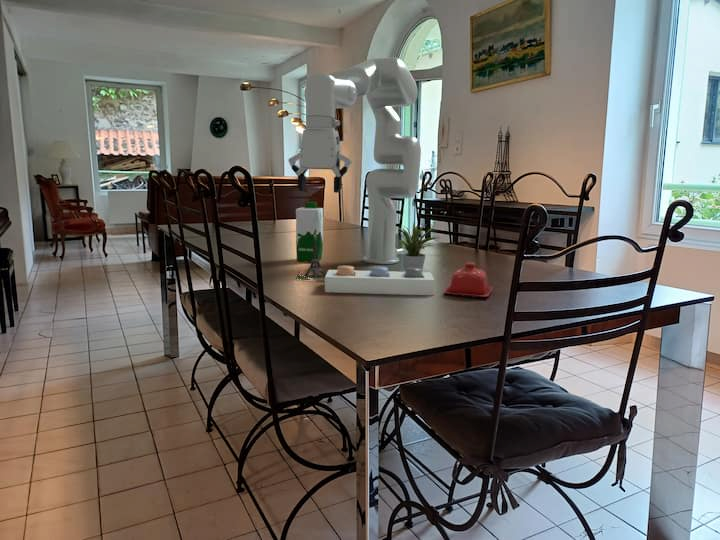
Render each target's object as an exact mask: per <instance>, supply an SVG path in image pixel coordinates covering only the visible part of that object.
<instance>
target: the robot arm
mask: <svg viewBox="0 0 720 540" xmlns="http://www.w3.org/2000/svg"><path fill="white" fill-rule="evenodd" d="M416 82H417V81H415V79H414V77H413V75H412V74H411V71H410V70H409V68H408V67H407V65H406V64H405V62H403V60H402V59H400V58H398V57H394V56H393V57H382V58H381V57H380V58H369V59H367V60H364V61H362V62H360V63H358V64H356V65H353V66H351V67H348V68H344V69H340V70H337V71H334V72H331V73H330V72H329V73H311V74H308V76H307V77H306V81H305V87H304V91H303V93H304V94H303V96H304V101H305V129H303V131H302V135H301V140H300V142H301V143H300V150H299V152H298V153H297V154H295V155H293V156H291V157H290V158H288V159H287V160H288V163H289V165H290V167H291V170H292V171H293V172H294V174H295V175H296V176H297V188H298V190H299V191H298V192H306V191H307V177H306V173H307V172H308V171H309V170H310V169H311V170H330V171H332V172H333V174H334V175H335V176H334V177H333V193H335V194H336V193H337V194H339V193H341V190H342V188H343V187H342V183H343V182H342V181H343V180H342V179H343V177H344V176H345V174H346V173H347V172H348V171H349V168H351V165H352V163H353V160H352V159H351V158H349V157H347V156H345V155H343V154H342V153H341V144H340V143H341V142H340V136H339V131H338V130H336V127H339V126H340V125H341V121H340V120H339V119H336V109H348V108H351V107H352V106H353V105H354V104H355V103H356V101H357V98H361V97H364V96H365V97H366V100H367V102H368V104H369V106H370V109H371V111H372V113H373V116H374V119H375V132H374V133H375V134H374V143H373V160H374V161H375V163H376V164H379V165H381V166H382V165H385V166H403V169H402V168H401V169H399V168H377V169H373V170H371V171H369V172H368V174H367V176H366V180H365V181H366V182H365V185H366V191H367V199H368V203H367V204H368V215H367V216H368V219H367V221H368V223H367V225H368V226H367V255H365V256H363V257H362V261H363V262H364V263H368V264H372V265H373V264H375V265H391V264H397V263H399V262H400V258H399V257H398V256H397V255H402V254H404V252H405V251H404V248H397V247H396V234H397V233H396V231H397V230H396V229H394V228H396V227H397V226H396V225H397V209H396V207H395V204H394V203H393V201H392V199H411V198H414V197H415V196H416V194H417V192H418V188H419V178H420V169H421V168H420V167H421V157H422V156H421V155H422V148H421V144H420V141H419V139H418V138H417V137H415V136H413V135H412V136H411V135H410V136H409V135H401V130H402V121H401V118H400V116H399V115H398V113H397V112H396V111H395V110H394V108H393V107H410V106H413V105H414V104H415V102H416V101H417V99H418V96H419V95H418V92H419V91H418V86H417V83H416ZM298 161H299V165H300V166H298V165H297V162H298ZM341 162H344V165H343V166H342V167H341V164H342V163H341ZM340 167H341V168H340Z"/></svg>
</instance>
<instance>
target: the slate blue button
mask: <svg viewBox="0 0 720 540" xmlns="http://www.w3.org/2000/svg"><path fill="white" fill-rule="evenodd" d="M370 269H371V270H370V271H371V276H374V277H388V271H389V267H388V266H387V267H386V266H379V265H378V266H371V268H370Z"/></svg>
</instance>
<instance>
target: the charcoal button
mask: <svg viewBox="0 0 720 540" xmlns="http://www.w3.org/2000/svg"><path fill="white" fill-rule="evenodd" d="M422 272H423V270H422V269H421V268H415V267H409V268H405V277H410V278H422Z"/></svg>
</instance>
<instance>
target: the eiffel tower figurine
mask: <svg viewBox="0 0 720 540" xmlns="http://www.w3.org/2000/svg"><path fill="white" fill-rule="evenodd" d="M314 239H315V241H314V253H313V259H312V262H310V265H309V266H308V269H307V271H305V272H306V273H304V276H305V277H304V276H302V275H303V274H300V275H301V276H300V275H299V274H298V273H300V271H301V270H299V271H298V273H297V274H296V275H297V276H296V277H295V280H297V278H298V279H299V280H298V281H300V279H301V280H310V279H308V277H309V278H313V279H314V280H317V282H321V283H322V282H323V280H319V279H323V278H324V279H325V276H326V274H327V273H326V272H325V271H324V269H323V266H321V264H320V261H319V259H318V254H317V241H316V239H317V237H316V233H315V237H314ZM310 272H312V274H309V273H310ZM318 272H320V273H321V274H319V273H318ZM318 278H319V279H318Z"/></svg>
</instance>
